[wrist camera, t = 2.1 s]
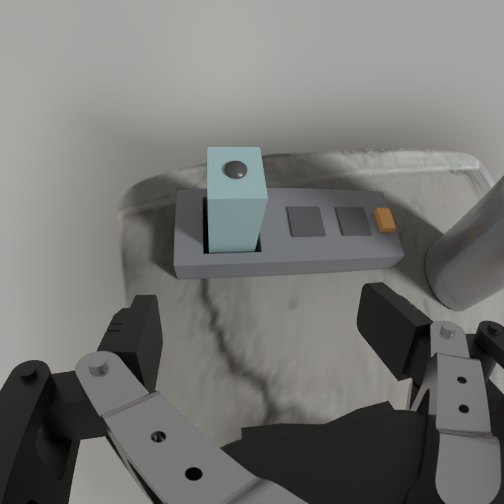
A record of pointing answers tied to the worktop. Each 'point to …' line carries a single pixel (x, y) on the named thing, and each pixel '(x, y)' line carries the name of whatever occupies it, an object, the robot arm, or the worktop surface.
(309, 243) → the power strip
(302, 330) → the worktop surface
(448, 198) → the worktop surface
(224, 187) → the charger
